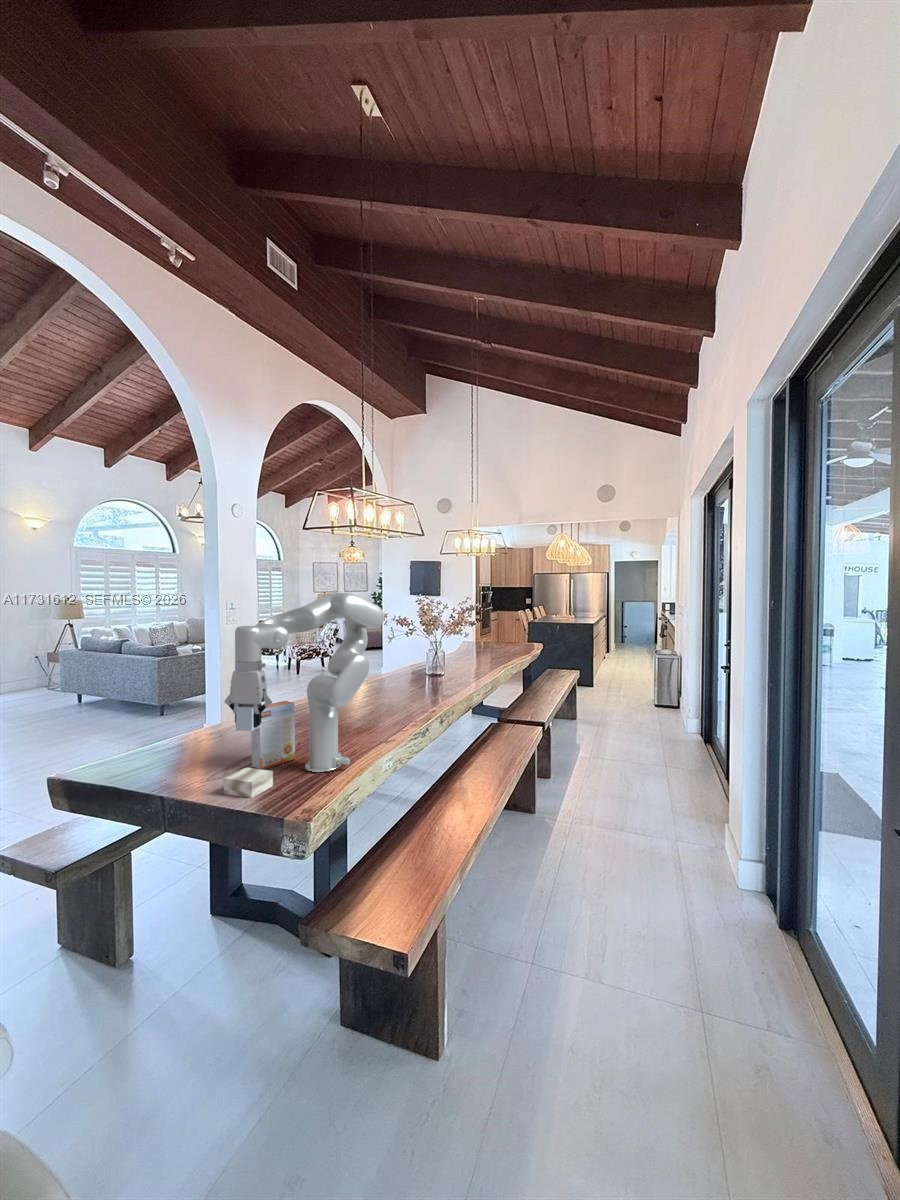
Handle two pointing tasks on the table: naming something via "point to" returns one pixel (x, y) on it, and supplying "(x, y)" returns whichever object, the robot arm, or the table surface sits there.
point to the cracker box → (274, 736)
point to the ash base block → (248, 782)
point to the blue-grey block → (245, 717)
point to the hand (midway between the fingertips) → (248, 725)
